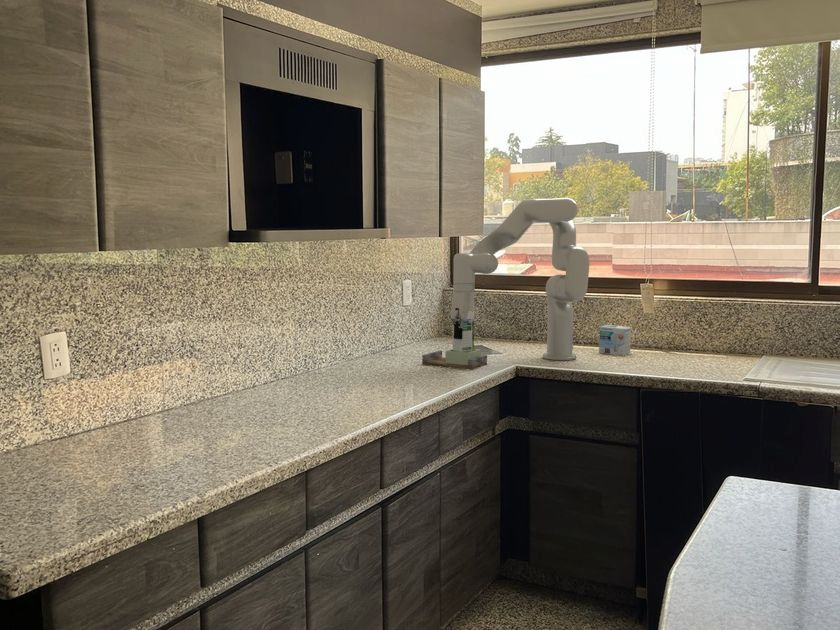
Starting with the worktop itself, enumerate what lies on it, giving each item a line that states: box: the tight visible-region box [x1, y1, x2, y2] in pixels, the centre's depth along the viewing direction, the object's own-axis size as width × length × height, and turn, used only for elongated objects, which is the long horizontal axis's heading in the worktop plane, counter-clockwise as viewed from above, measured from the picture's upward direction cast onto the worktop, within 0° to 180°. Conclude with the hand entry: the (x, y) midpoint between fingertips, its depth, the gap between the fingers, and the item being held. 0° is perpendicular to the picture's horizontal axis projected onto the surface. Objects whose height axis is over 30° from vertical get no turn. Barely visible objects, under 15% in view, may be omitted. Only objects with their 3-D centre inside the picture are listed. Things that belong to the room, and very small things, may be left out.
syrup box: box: [452, 311, 475, 352], centre depth 274 cm, size 6×6×14 cm
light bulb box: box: [598, 324, 632, 356], centre depth 301 cm, size 11×7×11 cm, turn 55°
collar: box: [445, 348, 482, 365], centre depth 275 cm, size 9×9×4 cm
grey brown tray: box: [421, 350, 488, 371], centre depth 277 cm, size 12×20×4 cm, turn 59°
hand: (463, 337), depth 274 cm, fingers closed on syrup box, 7 cm apart
